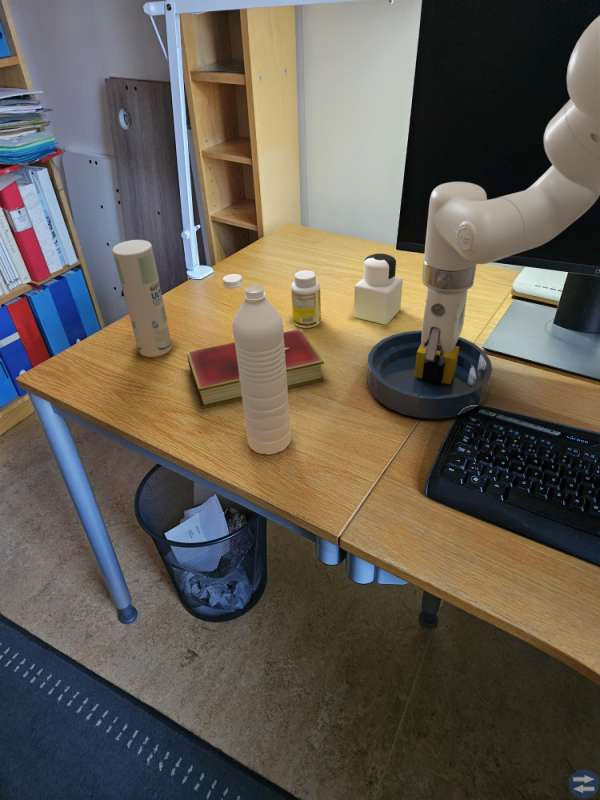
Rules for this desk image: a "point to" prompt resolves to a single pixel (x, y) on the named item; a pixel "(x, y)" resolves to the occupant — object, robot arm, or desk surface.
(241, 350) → the water bottle
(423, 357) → the sponge
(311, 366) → the hardcover book
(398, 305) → the blocky head figurine
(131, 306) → the spray can
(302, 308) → the supplement bottle
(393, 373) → the bowl
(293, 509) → the desk surface
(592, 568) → the desk surface
